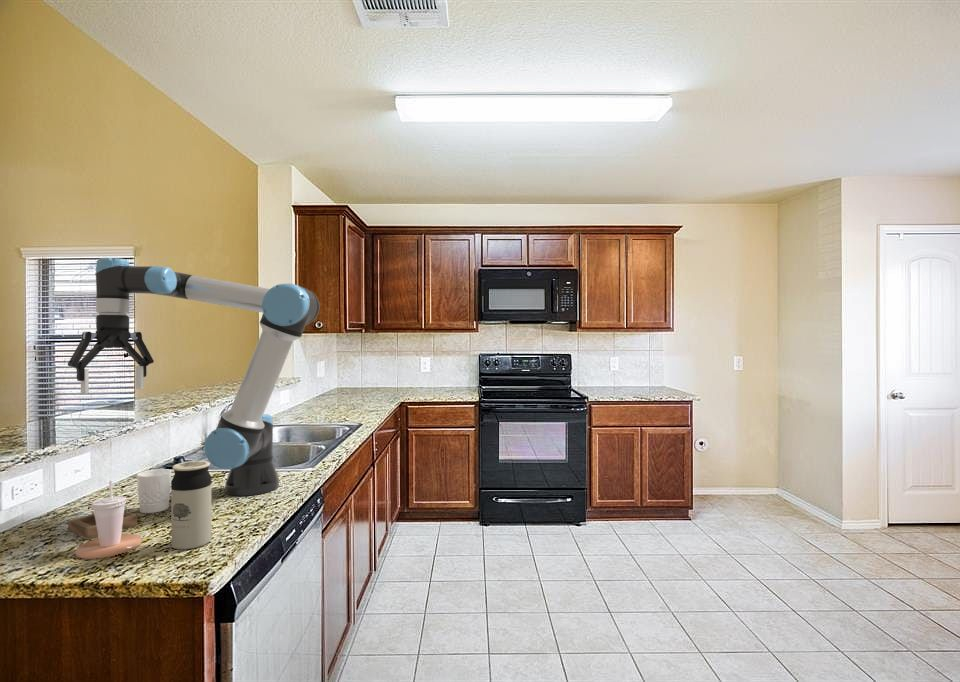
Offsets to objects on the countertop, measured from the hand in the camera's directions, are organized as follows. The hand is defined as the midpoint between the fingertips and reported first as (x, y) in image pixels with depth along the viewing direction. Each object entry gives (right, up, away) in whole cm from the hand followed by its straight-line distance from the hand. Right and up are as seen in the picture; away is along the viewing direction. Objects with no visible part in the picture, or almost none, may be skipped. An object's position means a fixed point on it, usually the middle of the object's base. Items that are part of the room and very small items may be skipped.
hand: (113, 390), depth 144 cm
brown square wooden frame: (+10, -32, -17) cm, 38 cm away
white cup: (+14, -32, -4) cm, 35 cm away
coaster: (+20, -32, -29) cm, 48 cm away
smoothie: (+20, -32, -29) cm, 47 cm away
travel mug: (+37, -32, -26) cm, 55 cm away
